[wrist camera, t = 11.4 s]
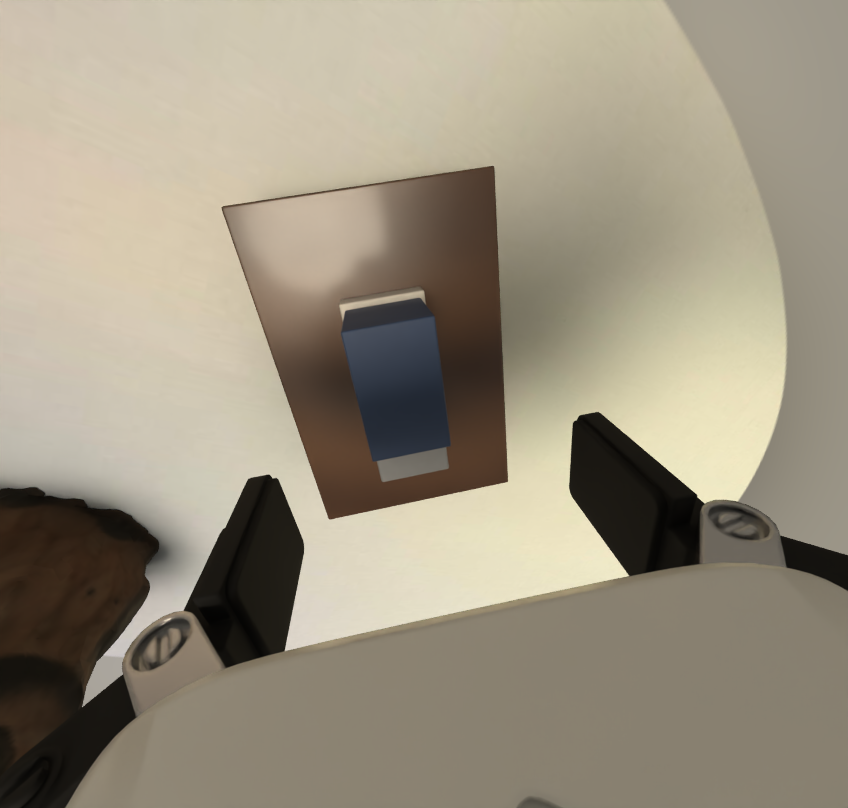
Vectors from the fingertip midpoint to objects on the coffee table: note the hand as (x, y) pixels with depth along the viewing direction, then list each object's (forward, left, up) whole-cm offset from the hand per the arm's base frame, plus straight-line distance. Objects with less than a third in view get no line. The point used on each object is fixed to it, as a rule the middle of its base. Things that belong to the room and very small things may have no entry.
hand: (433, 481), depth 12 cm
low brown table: (0, 0, -15) cm, 15 cm away
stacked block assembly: (0, 0, -10) cm, 10 cm away
